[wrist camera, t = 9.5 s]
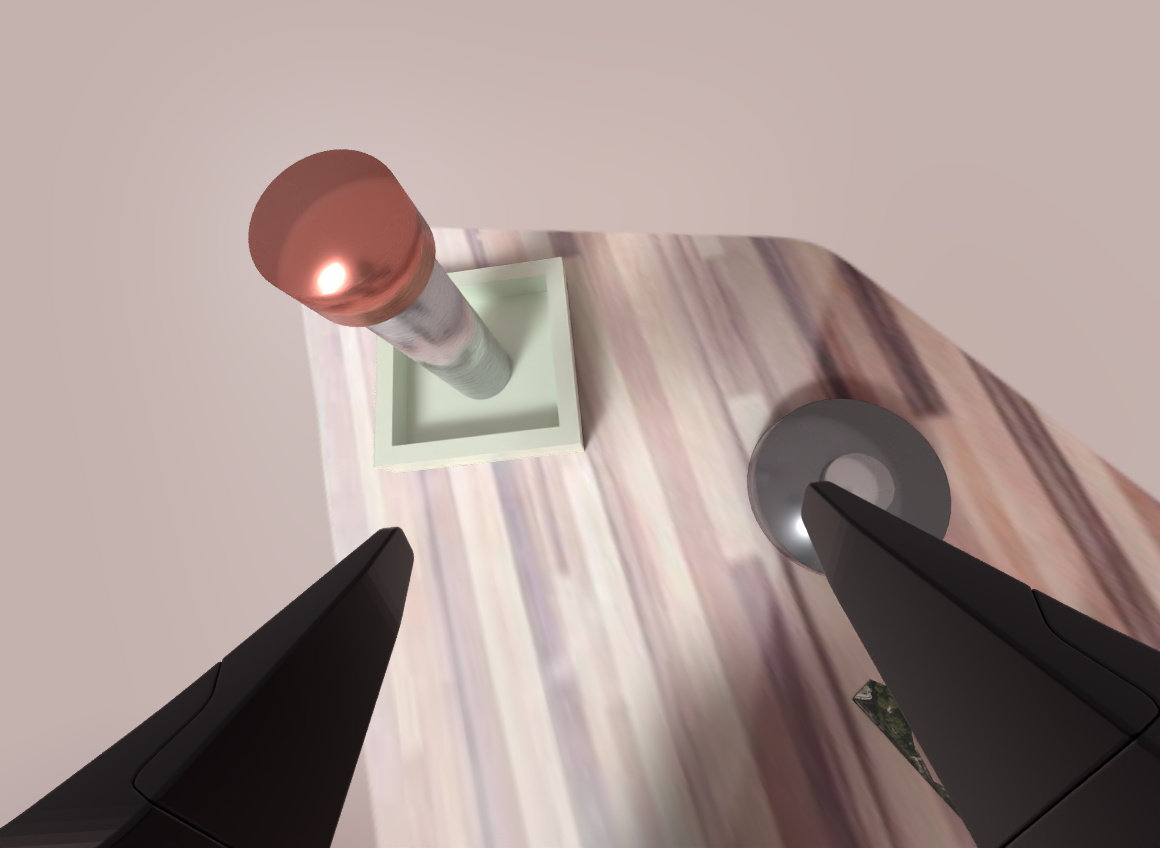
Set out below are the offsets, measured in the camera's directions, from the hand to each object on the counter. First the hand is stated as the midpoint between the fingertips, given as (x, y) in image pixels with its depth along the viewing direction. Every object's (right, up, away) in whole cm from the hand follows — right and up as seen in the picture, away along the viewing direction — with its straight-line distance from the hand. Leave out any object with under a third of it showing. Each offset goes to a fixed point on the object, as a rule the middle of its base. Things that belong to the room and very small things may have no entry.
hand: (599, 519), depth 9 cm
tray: (-6, +5, +16) cm, 18 cm away
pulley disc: (+13, -1, +13) cm, 18 cm away
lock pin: (-6, +5, +15) cm, 17 cm away
